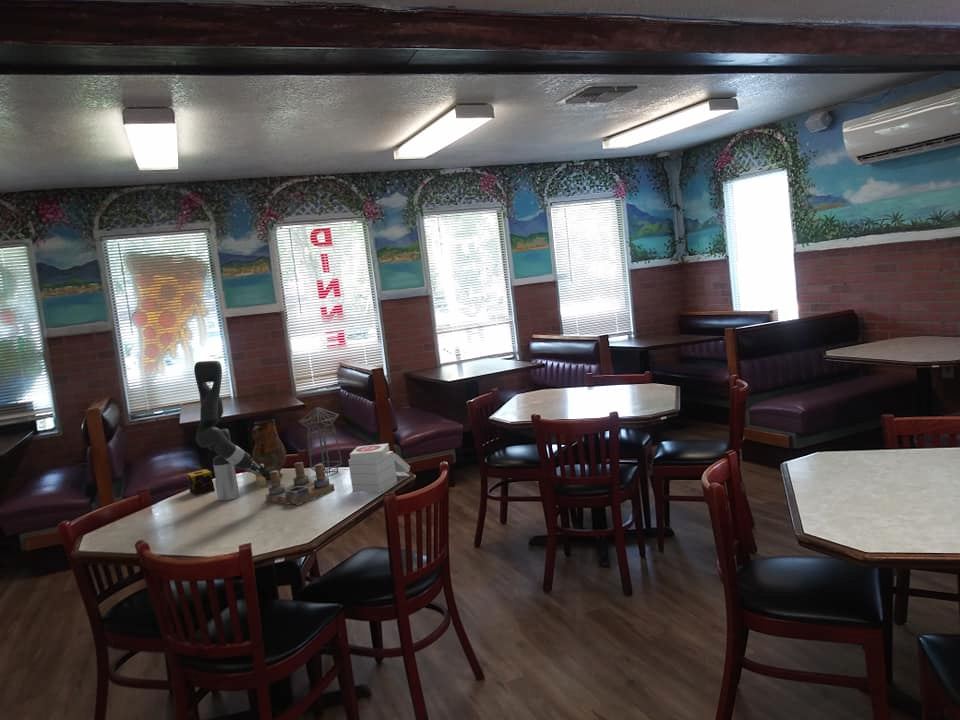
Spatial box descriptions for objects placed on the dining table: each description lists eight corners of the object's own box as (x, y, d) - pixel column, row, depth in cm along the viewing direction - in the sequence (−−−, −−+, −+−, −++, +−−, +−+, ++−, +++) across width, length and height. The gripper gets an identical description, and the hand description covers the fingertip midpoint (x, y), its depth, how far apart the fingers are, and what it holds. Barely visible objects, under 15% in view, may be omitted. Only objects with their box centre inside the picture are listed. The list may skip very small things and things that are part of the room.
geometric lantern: (349, 470, 375) (339, 404, 370) (328, 480, 362) (317, 411, 357) (326, 469, 383) (316, 403, 378) (305, 478, 370) (294, 411, 365)
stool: (266, 501, 336) (262, 473, 334) (303, 486, 353) (299, 460, 352) (297, 505, 323) (293, 476, 321) (334, 490, 340) (330, 463, 339)
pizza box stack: (414, 474, 353) (409, 437, 351) (381, 493, 326) (375, 454, 324) (381, 473, 361) (376, 438, 359) (345, 492, 334) (340, 454, 332)
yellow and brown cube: (215, 491, 366) (212, 471, 365) (194, 496, 360) (191, 476, 359) (210, 487, 374) (206, 468, 373) (189, 492, 369) (186, 473, 368)
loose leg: (255, 487, 325) (252, 466, 323) (263, 485, 328) (259, 463, 327) (261, 488, 322) (257, 466, 321) (268, 486, 325) (265, 464, 324)
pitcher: (295, 472, 386) (286, 416, 382) (276, 484, 365) (267, 425, 361) (266, 474, 389) (257, 418, 386) (246, 486, 368) (236, 427, 365)
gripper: (251, 450, 312) (278, 469, 324) (231, 448, 321) (258, 467, 332) (242, 465, 309) (270, 484, 320) (222, 463, 317) (250, 481, 329)
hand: (264, 475), depth 326 cm, fingers closed on loose leg, 4 cm apart
